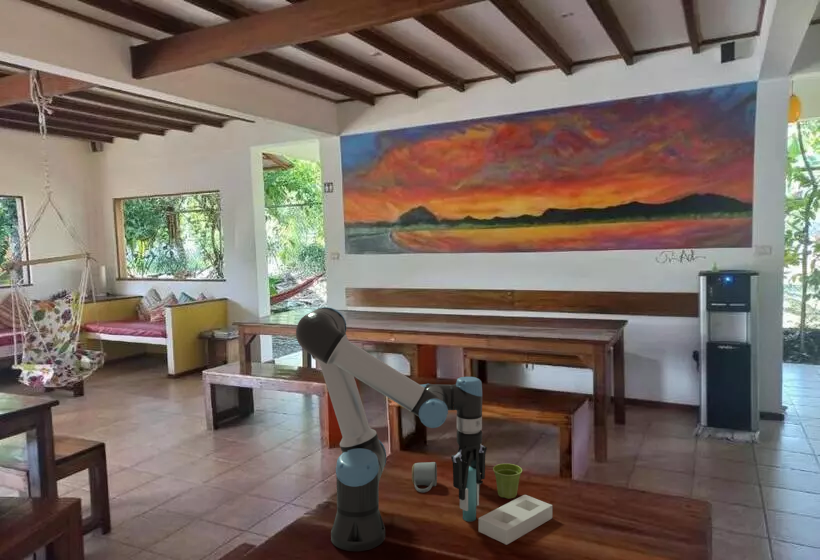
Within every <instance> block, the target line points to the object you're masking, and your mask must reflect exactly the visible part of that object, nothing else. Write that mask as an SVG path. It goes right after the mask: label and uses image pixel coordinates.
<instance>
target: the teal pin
mask: <svg viewBox="0 0 820 560" xmlns="http://www.w3.org/2000/svg"><path fill="white" fill-rule="evenodd" d="M466 488H467V489H468V511H465V510H463V509H462V520H463V521H465V522H469V523H470V522H475V521H476V520H477V506H476V469H475V468H473V467H469V471H468V478H467V486H466Z"/></svg>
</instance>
